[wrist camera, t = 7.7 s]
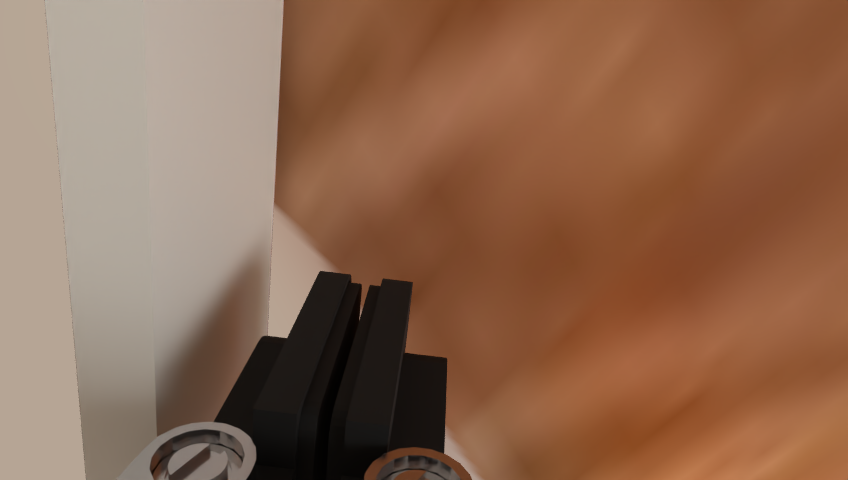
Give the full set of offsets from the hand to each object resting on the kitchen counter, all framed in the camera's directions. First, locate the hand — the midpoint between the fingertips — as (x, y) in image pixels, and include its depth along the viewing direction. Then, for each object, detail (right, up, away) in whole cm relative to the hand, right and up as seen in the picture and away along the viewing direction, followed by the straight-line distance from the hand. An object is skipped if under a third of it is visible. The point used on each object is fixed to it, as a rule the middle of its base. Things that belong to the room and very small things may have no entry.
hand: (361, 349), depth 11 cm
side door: (-2, +7, 0) cm, 7 cm away
